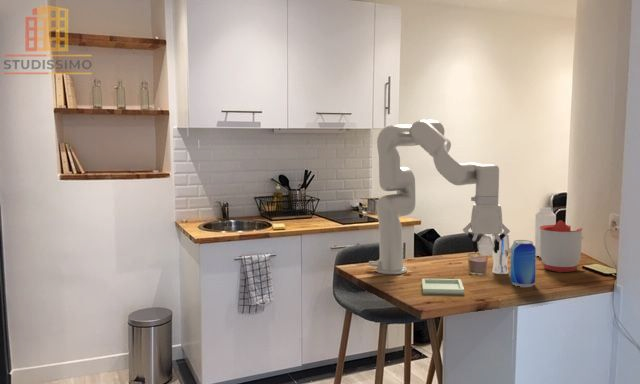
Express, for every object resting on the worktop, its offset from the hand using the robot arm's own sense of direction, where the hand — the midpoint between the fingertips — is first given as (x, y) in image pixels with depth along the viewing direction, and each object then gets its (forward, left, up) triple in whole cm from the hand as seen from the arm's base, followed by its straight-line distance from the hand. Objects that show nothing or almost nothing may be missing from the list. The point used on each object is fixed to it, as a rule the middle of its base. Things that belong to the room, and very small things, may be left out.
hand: (485, 251), depth 185 cm
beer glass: (+9, +29, -15) cm, 33 cm away
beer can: (+14, +11, -15) cm, 23 cm away
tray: (-15, +4, -14) cm, 21 cm away
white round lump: (0, 0, -1) cm, 1 cm away
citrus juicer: (+34, +36, -15) cm, 52 cm away
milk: (+33, +59, -15) cm, 69 cm away
